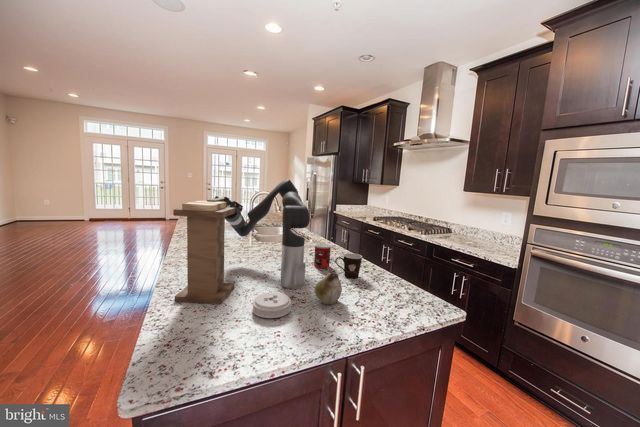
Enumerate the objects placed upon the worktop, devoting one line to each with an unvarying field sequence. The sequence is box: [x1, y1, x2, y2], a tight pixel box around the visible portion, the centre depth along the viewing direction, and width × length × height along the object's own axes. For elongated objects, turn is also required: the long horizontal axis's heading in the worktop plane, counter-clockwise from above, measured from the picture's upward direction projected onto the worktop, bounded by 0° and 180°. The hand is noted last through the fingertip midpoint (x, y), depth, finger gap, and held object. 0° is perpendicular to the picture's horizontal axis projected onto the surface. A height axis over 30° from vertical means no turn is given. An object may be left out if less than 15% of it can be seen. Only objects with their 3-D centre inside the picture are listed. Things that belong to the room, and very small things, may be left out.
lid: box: [251, 291, 292, 319], centre depth 90 cm, size 13×13×5 cm
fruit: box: [314, 272, 343, 305], centre depth 99 cm, size 10×9×12 cm
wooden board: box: [181, 196, 226, 211], centre depth 101 cm, size 26×10×2 cm, turn 0°
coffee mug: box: [334, 252, 363, 280], centre depth 127 cm, size 12×9×10 cm
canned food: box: [313, 243, 332, 269], centre depth 139 cm, size 8×8×11 cm
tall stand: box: [172, 207, 235, 305], centre depth 98 cm, size 14×16×32 cm
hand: (220, 198), depth 109 cm, fingers closed on wooden board, 3 cm apart
